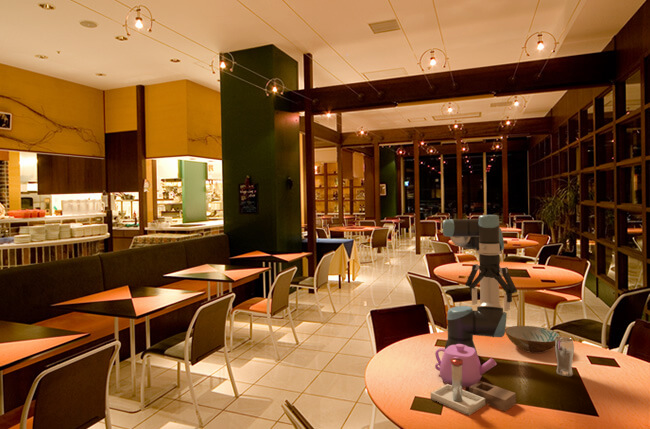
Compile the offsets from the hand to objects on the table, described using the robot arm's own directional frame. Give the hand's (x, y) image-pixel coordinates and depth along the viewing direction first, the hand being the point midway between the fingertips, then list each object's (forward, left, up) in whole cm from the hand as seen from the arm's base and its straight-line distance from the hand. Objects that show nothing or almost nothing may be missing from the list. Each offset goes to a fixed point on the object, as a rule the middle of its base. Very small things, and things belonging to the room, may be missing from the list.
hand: (490, 307), depth 159 cm
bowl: (-8, +55, -33) cm, 65 cm away
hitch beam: (+5, -9, -33) cm, 34 cm away
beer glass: (+13, +35, -33) cm, 50 cm away
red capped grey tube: (-3, -20, -32) cm, 38 cm away
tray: (-3, -20, -33) cm, 38 cm away
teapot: (-12, 0, -33) cm, 35 cm away
